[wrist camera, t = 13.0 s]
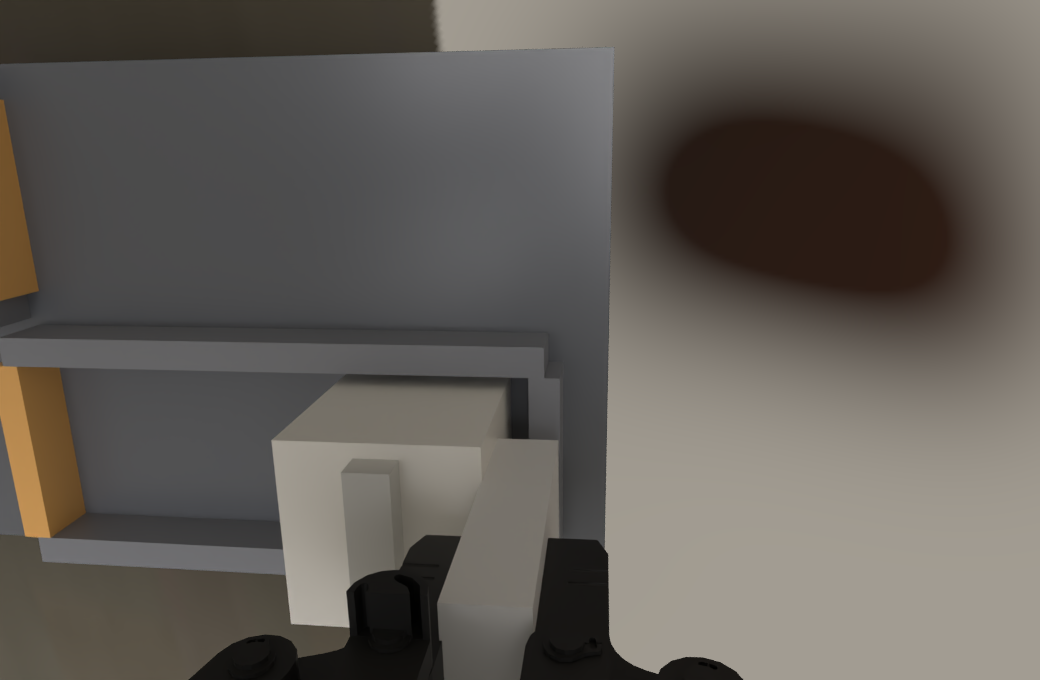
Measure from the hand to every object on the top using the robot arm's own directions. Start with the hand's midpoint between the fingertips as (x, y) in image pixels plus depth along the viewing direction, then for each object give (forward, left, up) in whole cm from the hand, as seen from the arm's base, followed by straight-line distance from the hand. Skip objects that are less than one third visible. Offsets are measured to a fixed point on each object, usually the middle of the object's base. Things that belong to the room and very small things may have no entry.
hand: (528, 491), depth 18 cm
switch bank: (-3, -15, -5) cm, 16 cm away
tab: (0, -3, -3) cm, 4 cm away
